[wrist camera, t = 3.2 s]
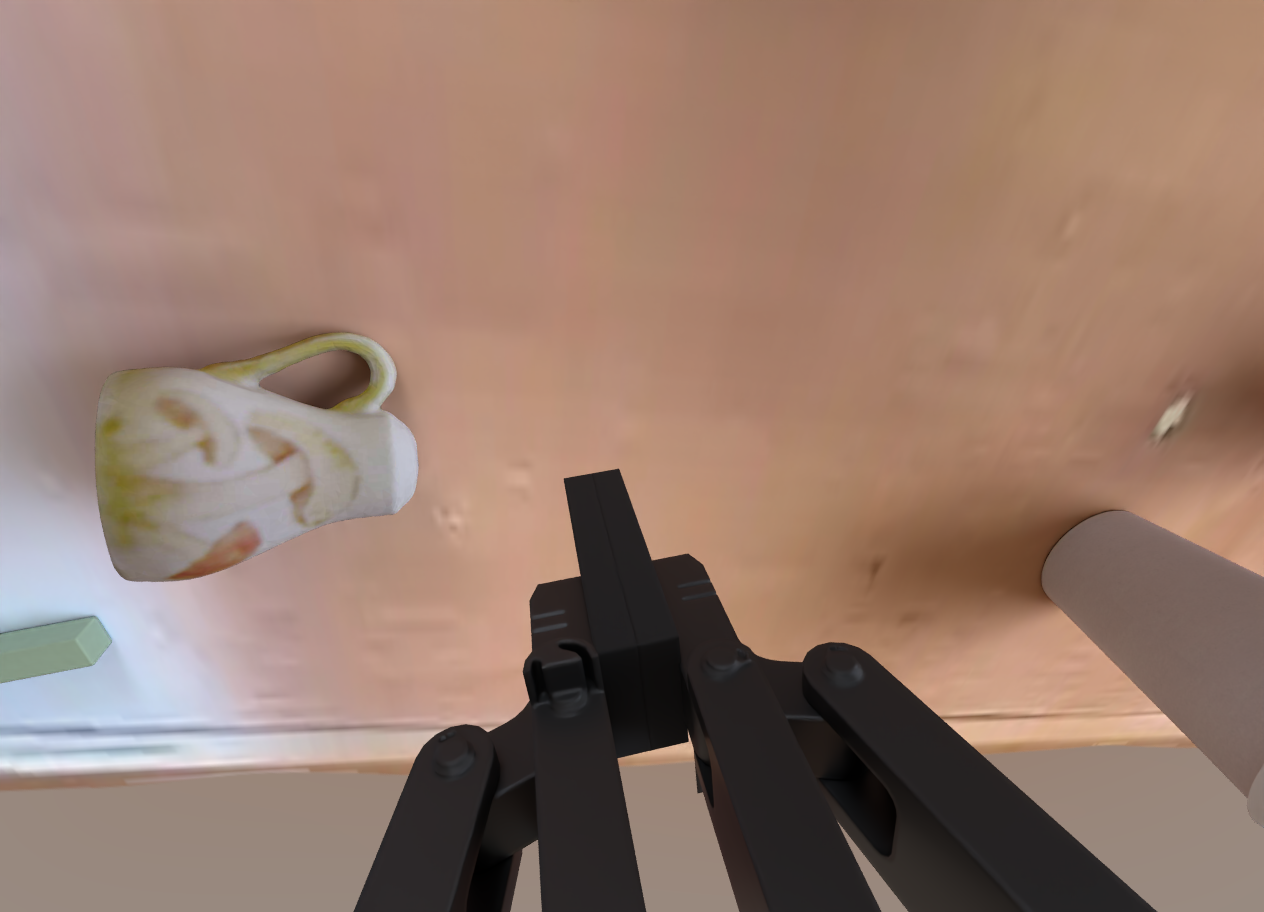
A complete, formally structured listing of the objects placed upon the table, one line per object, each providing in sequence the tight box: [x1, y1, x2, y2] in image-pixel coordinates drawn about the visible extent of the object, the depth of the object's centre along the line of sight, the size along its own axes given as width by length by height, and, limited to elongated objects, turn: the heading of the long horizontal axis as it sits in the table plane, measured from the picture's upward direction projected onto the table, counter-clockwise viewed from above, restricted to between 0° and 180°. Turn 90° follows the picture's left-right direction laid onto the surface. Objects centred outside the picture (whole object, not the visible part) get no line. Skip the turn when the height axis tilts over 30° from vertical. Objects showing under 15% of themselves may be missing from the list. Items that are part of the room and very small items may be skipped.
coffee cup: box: [1042, 511, 1264, 828], centre depth 30 cm, size 10×10×15 cm
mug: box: [95, 332, 419, 582], centre depth 22 cm, size 8×10×10 cm
